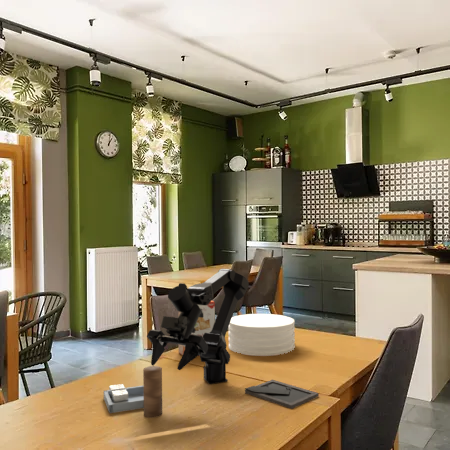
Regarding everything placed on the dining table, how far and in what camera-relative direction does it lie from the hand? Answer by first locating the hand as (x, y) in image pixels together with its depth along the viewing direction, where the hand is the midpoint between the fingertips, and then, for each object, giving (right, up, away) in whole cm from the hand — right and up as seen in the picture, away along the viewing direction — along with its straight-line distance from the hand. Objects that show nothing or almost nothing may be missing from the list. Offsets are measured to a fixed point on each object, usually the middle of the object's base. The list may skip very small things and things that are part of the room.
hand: (165, 367), depth 133 cm
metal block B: (-13, -11, 0) cm, 17 cm away
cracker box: (+5, -12, +59) cm, 60 cm away
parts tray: (-10, -12, +4) cm, 16 cm away
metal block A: (-15, -11, +5) cm, 19 cm away
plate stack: (+32, -12, +67) cm, 75 cm away
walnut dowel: (-3, -12, -5) cm, 13 cm away
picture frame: (+34, -12, +11) cm, 38 cm away
